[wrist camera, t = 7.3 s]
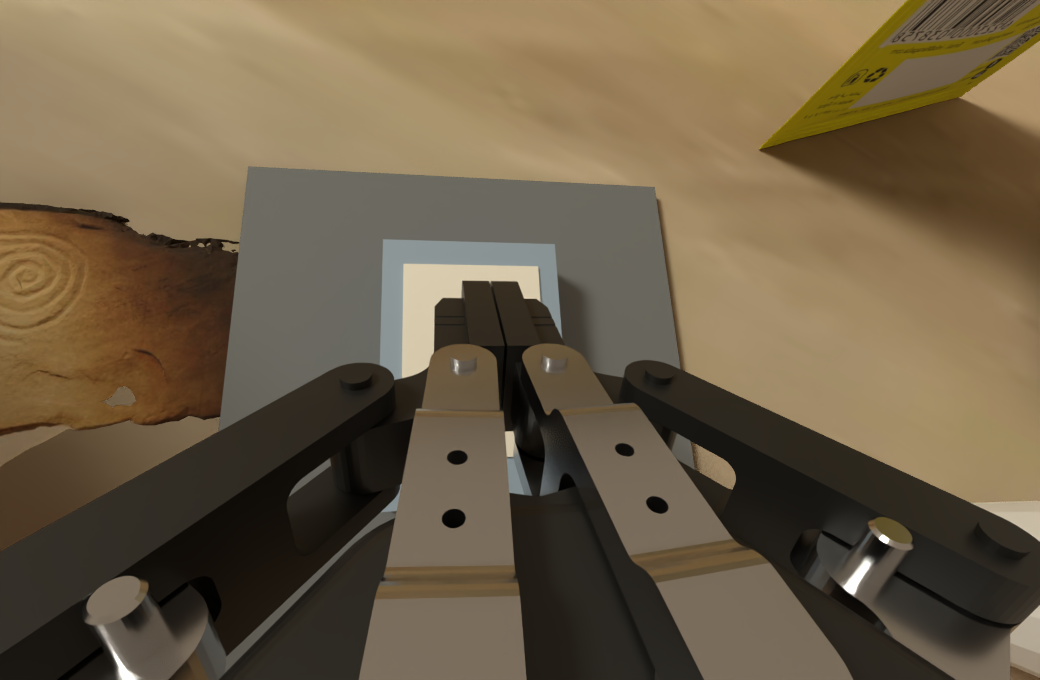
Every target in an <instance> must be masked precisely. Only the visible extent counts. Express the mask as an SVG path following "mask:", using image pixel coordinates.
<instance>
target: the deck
mask: <svg viewBox="0 0 1040 680" xmlns="http://www.w3.org/2000/svg"><path fill="white" fill-rule="evenodd" d="M462 280H464V281H489V282H491V281H517V282H518V284H519V286H520V289H521V292H522V294H523V297H524V299H537V300H539V301H540V302H541V303H543V304H544V305H545V306H547V307H548V309H549V311H550V314H551V316H552V319H553V320H554V322H555V326H556V327H557V329H558V331H559V333H560V335H561V338H562V330H561V318H560V305H559V292H558V279H557V266H556V253H555V244H532V243H496V242H460V241H424V240H389V239H383V261H382V299H381V337H380V365H381V366H383V367H385V368H387V369H388V370H390V371H391V373H392V374H393V376H394V380H396V379H401V378H405V377H409V376H413V375H415V374H418V373H420V372H422V371H423V370H425V369H426V368H427V367H429V363H430V358H431V356H432V354H433V353H434V312H435V305H436V304H437V303H438V302H439V301H440V300H441V299H442V298H461V291H462ZM505 439H506V453H507V468H508V482H509V493H515V494H522V495H524V492H523V489H522V486H521V482H520V479H519V475H518V472H517V469H516V465H515V462H514V459H513V448H514V432H513V431H507V432H505ZM401 485H402V484H401ZM401 485H400V490H401ZM400 490H399V493H398V495H397V496H396V498H395V499H394V500H393V501H392V502H391V503H390V504H389V505H388V506H387V507H386V508H385V509H383V510H382V511H381V512H391V511H397V506H398V501H399V496H400Z"/></svg>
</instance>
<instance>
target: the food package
mask: <svg viewBox="0 0 1040 680" xmlns="http://www.w3.org/2000/svg"><path fill="white" fill-rule="evenodd" d="M1038 41H1040V0H907V1H906V2H905V3H904V4H903V5H902V6H901V7H900V8H899V9H898V10H897V11H896V12H895V13H894V14H893V15H892V16H891V17H890V18H889V19H888V20H887V21H886V22H885V23H884V24H883V25H882V26H881V27H880V28H879V29H878V30H877V31H876V32H875V33H874V34H873V35H872V36H871V37H870V38H869V39H868V40H867V41H866V42H865V43H864V44H863V45H862V46H861V47H860V48H859V49H858V50H857V51H856V52H855V53H854V54H853V55H852V56H851V57H850V58H849V59H848V60H847V61H846V62H845V63H844V64H843V65H842V66H841V67H840V68H839V69H838V70H837V71H836V72H835V74H834V75H833V76H832V77H831V78H830V79H829V80H828V81H827V82H826V83H825V84H824V85H823V86H822V87H821V88H820V89H819V90H818V91H817V92H816V93H815V94H814V95H813V96H812V97H811V98H810V99H809V100H808V101H807V102H806V103H805V104H804V105H803V106H802V107H801V108H800V109H799V110H798V111H797V112H796V113H795V114H794V115H793V116H792V117H791V118H790V119H789V120H788V121H787V122H786V123H785V124H784V125H783V126H782V127H781V128H780V129H779V130H777V131H776V132H775V133H774V134H773V135H772V136H771V138H769V139H768V140H767V141H766V143H764V144H763V145H762V147H761V148H767V147H770V146H774V145H778V144H782V143H784V142H788V141H791V140H795V139H799V138H804V137H808V136H812V135H816V134H820V133H824V132H828V131H832V130H836V129H839V128H843V127H847V126H851V125H855V124H859V123H862V122H866V121H870V120H874V119H878V118H882V117H885V116H889V115H893V114H897V113H901V112H905V111H908V110H912V109H915V108H919V107H923V106H926V105H930V104H933V103H938V102H943V101H946V100H950V99H954V98H957V97H961V96H963V95H964V94H965V93H966V92H968V91H970V90H971V89H972V88H973V87H975V86H977V85H978V84H979V83H980V82H981V81H983V80H985V79H986V78H988V77H989V76H991V75H992V74H993V73H995V72H996V71H998V70H999V69H1001V68H1002V67H1003V66H1005V65H1006V64H1008V63H1009V62H1010V61H1012V60H1013V59H1015V58H1016V57H1017V56H1019V55H1020V54H1022V53H1023V52H1024V51H1026V50H1027V49H1029V48H1030V47H1031V46H1033V45H1034V44H1035V43H1037V42H1038ZM761 148H759V149H761Z"/></svg>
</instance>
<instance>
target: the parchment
mask: <svg viewBox="0 0 1040 680" xmlns="http://www.w3.org/2000/svg"><path fill="white" fill-rule="evenodd" d="M121 221H122V222H128V221H129V220H128V219H125V218H123V217H121V216H115V215H113V214H112V213H107V212H98V211H95V210H84V209H79V210H77V209H73V208H62V207H60V208H58V207H53V206H48V205H34V204H23V203H0V467H1V466H2V465H3V464H4V463H6V462H8V461H10V460H11V459H13V458H15V457H16V456H18V455H20V454H21V453H23V452H25V451H26V450H28V449H30V448H32V447H34V446H36V445H39V444H41V443H43V442H45V441H47V440H49V439H51V438H52V437H54V436H56V435H58V434H60V433H62V432H64V431H65V430H67V429H73V430H75V431H77V430H88V429H96V428H101V427H105V426H109V425H113V424H117V423H121V422H124V421H127V420H130V421H131V422H132V423H136V424H139V425H157V424H162V423H165V422H169V421H179V420H181V419H183V418H185V417H187V416H194V417H198V418H201V419H203V420H206V419H210V418H216V417H220V414H221V405H222V396H223V387H224V379H225V370H226V361H227V352H228V343H229V334H230V325H231V316H232V308H233V299H234V290H235V281H236V272H237V263H238V254H239V253H238V252H234V251H236V250H232V252H234V253H231V252H229V251H224V250H222V246H223V244H222V243H221V242H229V243H232V244H235V243H239V242H233V241H229V240H221V239H212V238H208V239H196V240H195V241H185V240H175V239H172V238H170V237H167V236H164V235H156V234H154V233H151V234H149V235H148V236H145V235H144V234H143V235H141V234H138V233H137V232H136V231H134V230H133V229H132V228H131V227H128V226H126V225H124V224H122V223H121ZM208 242H210V243H211V244H210V245H209V246H207V247H206V244H207V243H208ZM199 243H202V244H204V246H205V247H199V246H197V245H198V244H199ZM189 245H191V247H189ZM122 386H126V387H127V388H129V389H131V391H132V392H133V394H134V396H135V398H136V402H135V403H133V404H132V405H131V406H125V405H116V406H114V407H113V408H112V407H110V406H109V405H107V404H105V403H104V402H102V401H104V400H106V399H108V398H110V397H112V395H113V394H114V393H115V391H116V390H117V388H118V387H122Z"/></svg>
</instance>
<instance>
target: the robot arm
mask: <svg viewBox="0 0 1040 680" xmlns="http://www.w3.org/2000/svg"><path fill="white" fill-rule="evenodd" d="M507 431H513V432H514V448H513V459H514V462H515V465H516V469H517V472H518V475H519V479H520V482H521V486H522V489H523V492H524V495H522V494H515V493H509V482H508V468H507V453H506V439H505V432H507ZM677 434H679V435H681V436H683V437H684V438H686V439H688V440H690V441H692V442H694V443H695V444H697V445H699V446H701V447H703V448H705V449H706V450H708V451H710V452H712V453H714V454H716V455H717V456H719V457H721V458H723V459H724V460H726V461H727V462H728V463H729V464H730V465H731V466H732V468H733V470H734V471H735V474H736V482H735V485H734V488H733V490H731V489H728V488H726V487H724V486H722V485H720V484H719V483H717V482H715V481H713V480H712V479H710V478H708V477H706V476H705V475H703V474H701V473H700V472H698V471H696V470H694V469H693V468H691V467H689V466H688V465H686V464H684V463H682V462H681V461H679V460H677V459H676V458H675V456H674V455H673V454H672V452H671V451H672V448H673V445H674V442H675V439H676V435H677ZM329 458H330V463H331V466H329V467H328V468H327V469H325V470H324V471H323V472H321V473H320V474H319V475H317V476H316V477H315V478H313V479H312V480H311V481H309V482H308V483H307V484H305V485H304V486H303V487H301V488H300V489H299V490H297V491H296V492H295V493H293V494H292V495H291V496H289V495H290V493H291V491H292V489H293V488H294V486H295V485H296V484H297V483H298V482H299V481H300V480H301V479H302V478H303V477H305V476H306V475H308V474H309V473H310V472H312V471H313V470H314V469H316V468H317V467H319V466H320V465H321V464H323V463H324V462H325V461H327V460H328V459H329ZM401 484H402V485H401ZM400 485H401V490H400ZM399 490H400V496H399V501H398V506H397V512H396V517H395V518H393V519H391V520H389V521H387V522H385V523H383V524H381V525H379V526H378V527H376V528H375V529H373V530H372V531H370V532H368V533H367V534H365V535H364V536H363V537H362V538H360V539H359V540H358V541H357V542H355V543H354V544H353V545H352V546H351V547H350V548H349V549H348V550H347V551H345V552H344V553H343V554H342V555H341V556H340V557H339V559H338V560H337V561H336V562H335V563H334V564H333V565H332V566H331V567H330V568H329V569H328V570H327V571H326V572H325V573H324V574H323V575H322V576H321V577H320V578H319V579H318V580H317V581H316V582H315V583H314V584H313V585H312V586H311V587H310V588H309V589H308V590H307V591H306V592H305V593H304V594H303V595H302V596H301V597H300V598H299V599H298V600H297V601H296V602H295V603H294V604H293V605H292V606H291V607H290V608H289V609H288V610H287V611H286V612H285V613H284V614H283V615H282V616H281V617H280V618H279V619H278V620H277V621H276V622H275V623H274V624H273V625H272V626H271V627H270V628H269V629H268V630H267V631H266V632H265V633H264V634H263V635H262V636H261V637H260V638H259V639H258V640H257V641H256V642H255V643H254V644H253V645H252V646H251V647H250V648H249V649H248V650H247V651H246V652H245V653H244V654H243V655H242V656H241V657H240V658H239V659H238V660H237V661H236V662H235V663H234V664H233V665H232V666H231V667H230V668H229V669H228V670H227V671H226V672H225V668H226V657H227V656H228V655H229V654H230V653H231V652H232V651H233V650H234V649H235V648H236V647H237V646H238V645H239V644H241V643H242V642H243V641H244V640H245V639H246V638H247V637H248V636H249V635H250V634H251V633H252V632H253V631H254V630H255V629H257V628H258V627H259V626H260V625H261V624H262V623H263V622H264V621H265V620H266V619H267V618H268V617H269V616H270V615H271V614H273V613H274V612H275V611H276V610H277V609H278V608H279V607H280V606H281V605H282V604H283V603H284V602H285V601H286V600H287V599H289V598H290V597H291V596H292V595H293V594H294V593H295V592H296V591H297V590H298V589H299V588H300V587H301V586H302V585H303V584H305V583H306V582H307V581H308V580H309V579H310V578H311V577H312V576H313V575H314V574H315V573H316V572H317V571H318V570H319V569H321V568H322V567H323V566H324V565H325V564H326V563H327V562H328V561H329V560H330V559H331V558H332V557H333V556H334V555H335V554H337V553H338V552H339V551H340V550H341V549H342V548H343V547H344V546H345V545H346V544H347V543H348V542H349V541H350V540H351V539H353V538H354V537H355V536H356V535H357V534H358V533H359V532H360V531H361V530H362V529H363V528H364V527H365V526H366V525H367V524H369V523H370V522H371V521H372V520H373V519H374V518H375V517H376V516H377V515H378V514H379V513H380V512H381V511H382V510H383V509H385V508H386V507H387V506H388V505H389V504H390V503H391V502H392V501H393V500H394V499H395V498H396V496H397V495H398V493H399ZM1039 606H1040V541H1038V540H1037V539H1036V538H1035V537H1033V536H1032V535H1030V534H1029V533H1028V532H1026V531H1025V530H1023V529H1022V528H1020V527H1018V526H1017V525H1015V524H1013V523H1011V522H1010V521H1008V520H1006V519H1004V518H1002V517H1000V516H998V515H995V514H993V513H991V512H989V511H987V510H985V509H982V508H980V507H978V506H976V505H974V504H972V503H969V502H967V501H965V500H963V499H961V498H959V497H956V496H954V495H952V494H950V493H948V492H946V491H943V490H941V489H939V488H937V487H935V486H933V485H930V484H928V483H926V482H924V481H922V480H919V479H917V478H915V477H913V476H911V475H909V474H906V473H904V472H902V471H900V470H898V469H896V468H893V467H891V466H889V465H887V464H885V463H883V462H880V461H878V460H876V459H874V458H872V457H870V456H867V455H865V454H863V453H861V452H859V451H856V450H854V449H852V448H850V447H848V446H846V445H843V444H841V443H839V442H837V441H835V440H833V439H830V438H828V437H826V436H824V435H822V434H820V433H817V432H815V431H813V430H811V429H809V428H807V427H804V426H802V425H800V424H798V423H796V422H794V421H791V420H789V419H787V418H785V417H783V416H780V415H778V414H776V413H774V412H772V411H770V410H767V409H765V408H763V407H761V406H759V405H757V404H754V403H752V402H750V401H748V400H746V399H744V398H741V397H739V396H737V395H735V394H733V393H731V392H728V391H726V390H724V389H722V388H720V387H718V386H715V385H713V384H711V383H709V382H707V381H704V380H702V379H700V378H698V377H696V376H694V375H691V374H689V373H687V372H685V371H683V370H681V369H678V368H676V367H674V366H672V365H669V364H666V363H663V362H659V361H653V360H639V361H635V362H632V363H630V364H629V365H627V366H626V368H625V371H624V376H623V377H617V376H612V375H606V374H601V373H597V372H593V371H592V369H591V368H590V366H589V364H588V363H587V361H586V360H585V358H584V357H583V356H582V355H581V354H580V353H579V352H577V351H576V350H574V349H572V348H570V347H567V346H565V344H564V342H563V340H562V338H561V335H560V333H559V331H558V329H557V327H556V326H555V322H554V320H553V319H552V316H551V314H550V311H549V309H548V307H547V306H545V305H544V304H543V303H541V302H540V301H539V300H537V299H524V297H523V294H522V292H521V289H520V286H519V284H518V282H517V281H491V282H489V281H464V280H462V291H461V298H442V299H441V300H440V301H439V302H438V303H437V304H436V305H435V312H434V353H433V354H432V356H431V358H430V363H429V367H427V368H426V369H425V370H423V371H422V372H420V373H418V374H415V375H413V376H409V377H405V378H401V379H396V380H394V376H393V374H392V373H391V371H390V370H388V369H387V368H385V367H383V366H381V365H378V364H373V363H351V364H346V365H342V366H339V367H336V368H334V369H332V370H330V371H328V372H326V373H324V374H323V375H321V376H319V377H317V378H315V379H313V380H312V381H310V382H308V383H306V384H304V385H303V386H301V387H299V388H297V389H295V390H293V391H292V392H290V393H288V394H286V395H284V396H283V397H281V398H279V399H277V400H275V401H273V402H272V403H270V404H268V405H266V406H264V407H263V408H261V409H259V410H257V411H255V412H253V413H252V414H250V415H248V416H246V417H244V418H243V419H241V420H239V421H237V422H235V423H233V424H232V425H230V426H228V427H226V428H224V429H223V430H221V431H219V432H217V433H215V434H213V435H212V436H210V437H208V438H206V439H204V440H203V441H201V442H199V443H197V444H195V445H194V446H192V447H190V448H188V449H186V450H184V451H183V452H181V453H179V454H177V455H175V456H174V457H172V458H170V459H168V460H166V461H164V462H163V463H161V464H159V465H157V466H155V467H154V468H152V469H150V470H148V471H146V472H144V473H143V474H141V475H139V476H137V477H135V478H134V479H132V480H130V481H128V482H126V483H124V484H123V485H121V486H119V487H117V488H115V489H114V490H112V491H110V492H108V493H106V494H104V495H103V496H101V497H99V498H97V499H95V500H94V501H92V502H90V503H88V504H86V505H84V506H83V507H81V508H79V509H77V510H75V511H74V512H72V513H70V514H68V515H66V516H64V517H63V518H61V519H59V520H57V521H55V522H54V523H52V524H50V525H48V526H46V527H45V528H43V529H41V530H39V531H37V532H35V533H34V534H32V535H30V536H28V537H26V538H25V539H23V540H21V541H19V542H17V543H15V544H14V545H12V546H10V547H8V548H6V549H5V550H3V551H1V552H0V680H1010V634H1011V633H1012V632H1013V631H1014V630H1015V629H1016V628H1017V627H1018V626H1019V625H1020V624H1021V623H1022V622H1023V621H1024V620H1025V619H1026V618H1027V617H1028V616H1029V615H1030V614H1031V613H1032V612H1033V611H1034V610H1035V609H1037V608H1038V607H1039Z"/></svg>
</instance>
